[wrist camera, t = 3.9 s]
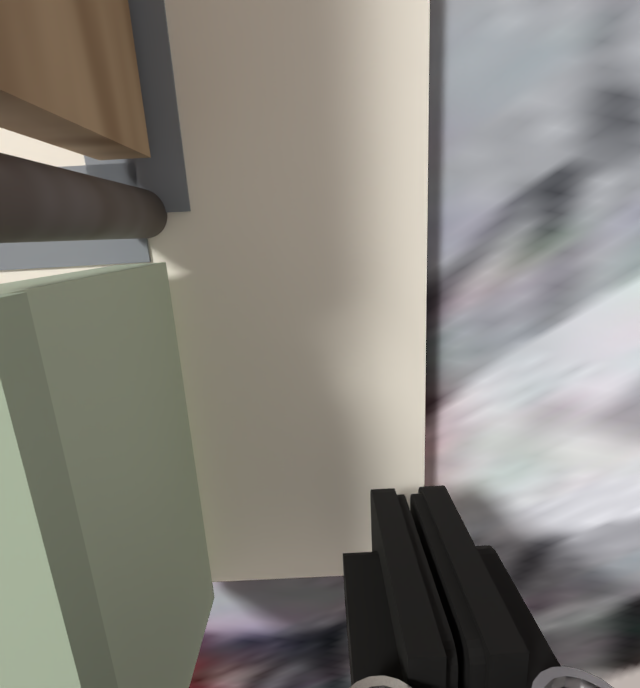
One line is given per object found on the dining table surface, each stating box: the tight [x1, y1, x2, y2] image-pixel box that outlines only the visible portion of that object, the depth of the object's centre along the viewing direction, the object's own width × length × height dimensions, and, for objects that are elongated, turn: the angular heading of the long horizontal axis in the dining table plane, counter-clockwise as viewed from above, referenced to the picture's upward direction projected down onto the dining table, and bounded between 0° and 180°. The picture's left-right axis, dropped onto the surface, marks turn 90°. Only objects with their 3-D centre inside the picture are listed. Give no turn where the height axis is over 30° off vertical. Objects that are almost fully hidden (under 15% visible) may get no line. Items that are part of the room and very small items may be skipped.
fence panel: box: [0, 262, 214, 688], centre depth 7 cm, size 8×1×5 cm, turn 3°
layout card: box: [0, 0, 430, 582], centre depth 9 cm, size 18×19×1 cm
